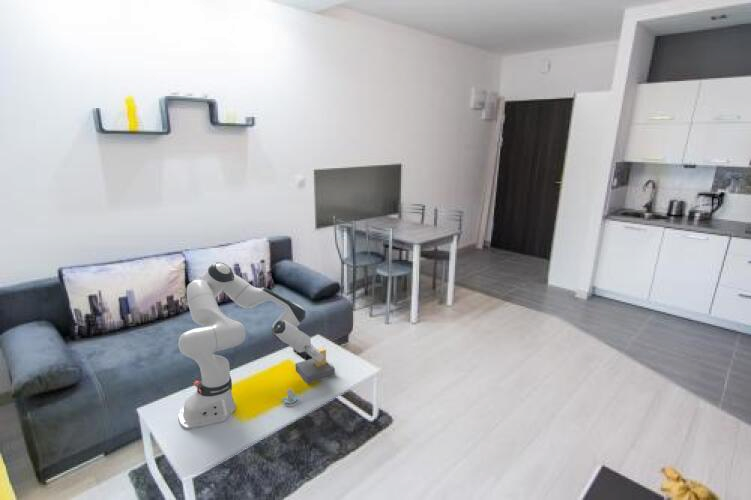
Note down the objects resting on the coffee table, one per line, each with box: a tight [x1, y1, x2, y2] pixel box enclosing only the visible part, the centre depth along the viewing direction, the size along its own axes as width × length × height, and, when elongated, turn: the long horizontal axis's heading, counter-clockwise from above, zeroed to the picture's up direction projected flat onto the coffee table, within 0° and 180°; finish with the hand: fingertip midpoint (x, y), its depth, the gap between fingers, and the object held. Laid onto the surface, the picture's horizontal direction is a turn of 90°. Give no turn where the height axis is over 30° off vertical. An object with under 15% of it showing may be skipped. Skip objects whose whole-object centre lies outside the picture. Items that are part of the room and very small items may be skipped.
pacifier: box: [281, 388, 300, 407], centre depth 178 cm, size 7×6×6 cm
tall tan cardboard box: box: [315, 347, 327, 368], centre depth 203 cm, size 5×2×12 cm, turn 124°
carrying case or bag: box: [292, 348, 313, 360], centre depth 222 cm, size 11×3×15 cm
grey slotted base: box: [295, 358, 336, 385], centre depth 202 cm, size 15×14×5 cm
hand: (319, 355), depth 202 cm, fingers closed on tall tan cardboard box, 2 cm apart
